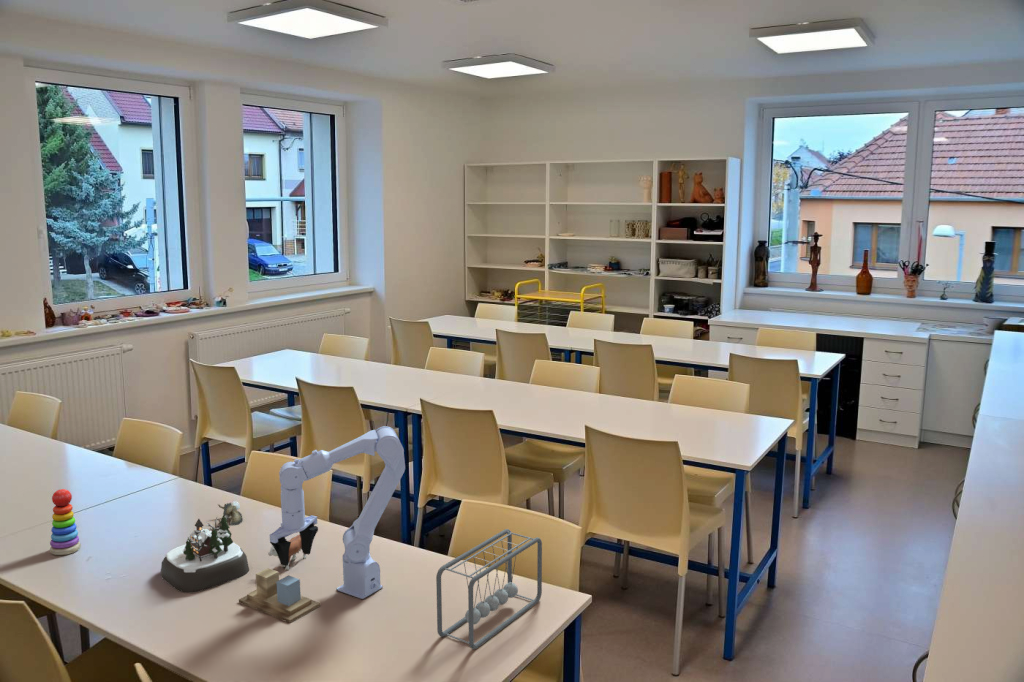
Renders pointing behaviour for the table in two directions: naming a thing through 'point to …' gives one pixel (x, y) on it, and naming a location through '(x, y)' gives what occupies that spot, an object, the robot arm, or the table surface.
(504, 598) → the newton's cradle
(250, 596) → the plinth
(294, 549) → the bull figurine
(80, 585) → the table surface
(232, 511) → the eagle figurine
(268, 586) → the brass block
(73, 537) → the stacking toy
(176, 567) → the miniature diorama
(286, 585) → the slate block
